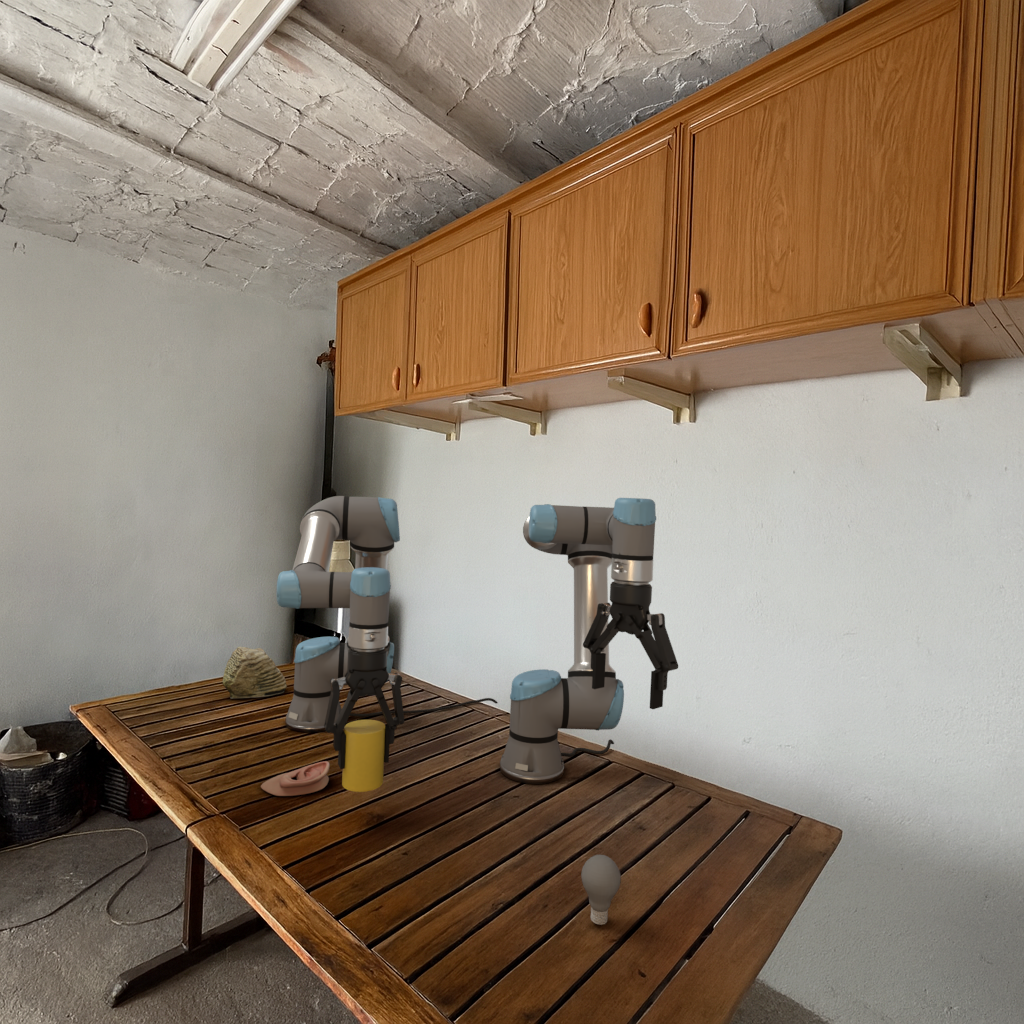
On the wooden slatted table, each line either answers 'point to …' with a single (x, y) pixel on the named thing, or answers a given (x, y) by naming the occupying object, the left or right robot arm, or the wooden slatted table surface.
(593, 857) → the light bulb
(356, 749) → the canister
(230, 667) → the fossil
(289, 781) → the anatomical model
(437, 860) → the wooden slatted table surface
